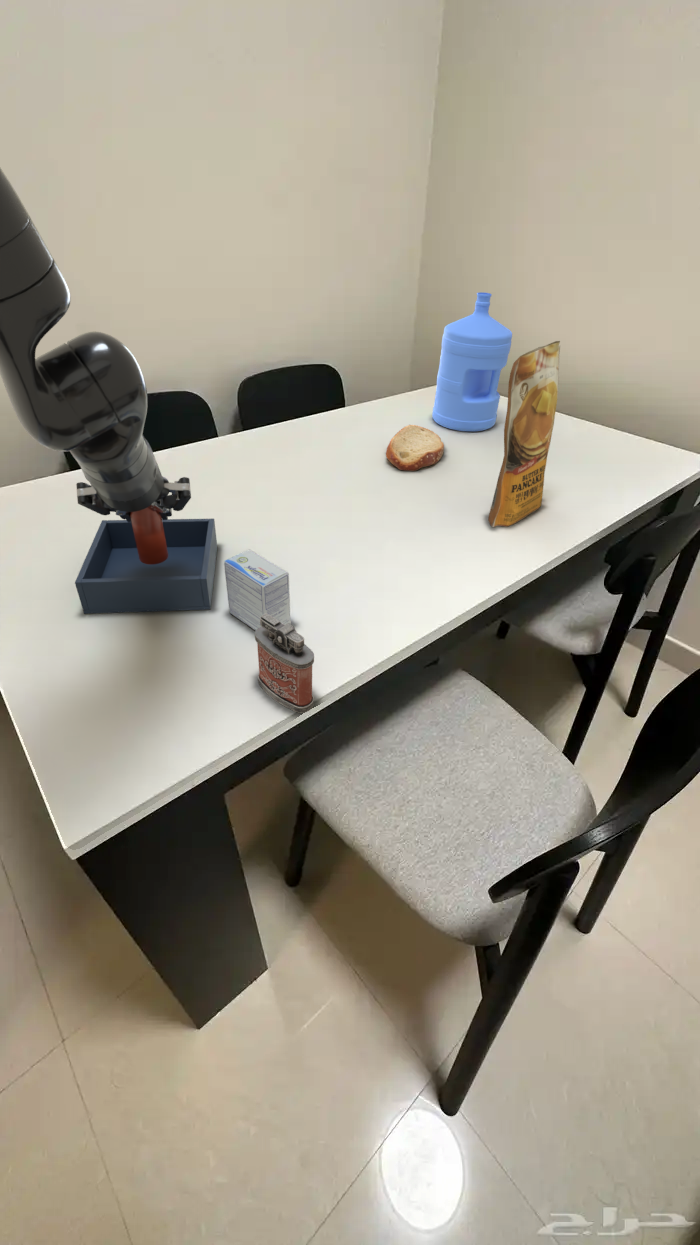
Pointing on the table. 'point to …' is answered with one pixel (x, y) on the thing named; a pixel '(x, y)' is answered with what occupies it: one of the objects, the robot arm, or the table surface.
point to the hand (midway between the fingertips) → (147, 514)
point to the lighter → (284, 664)
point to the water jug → (471, 370)
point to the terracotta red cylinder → (149, 536)
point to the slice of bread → (414, 448)
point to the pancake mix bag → (526, 435)
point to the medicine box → (256, 589)
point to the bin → (149, 569)
